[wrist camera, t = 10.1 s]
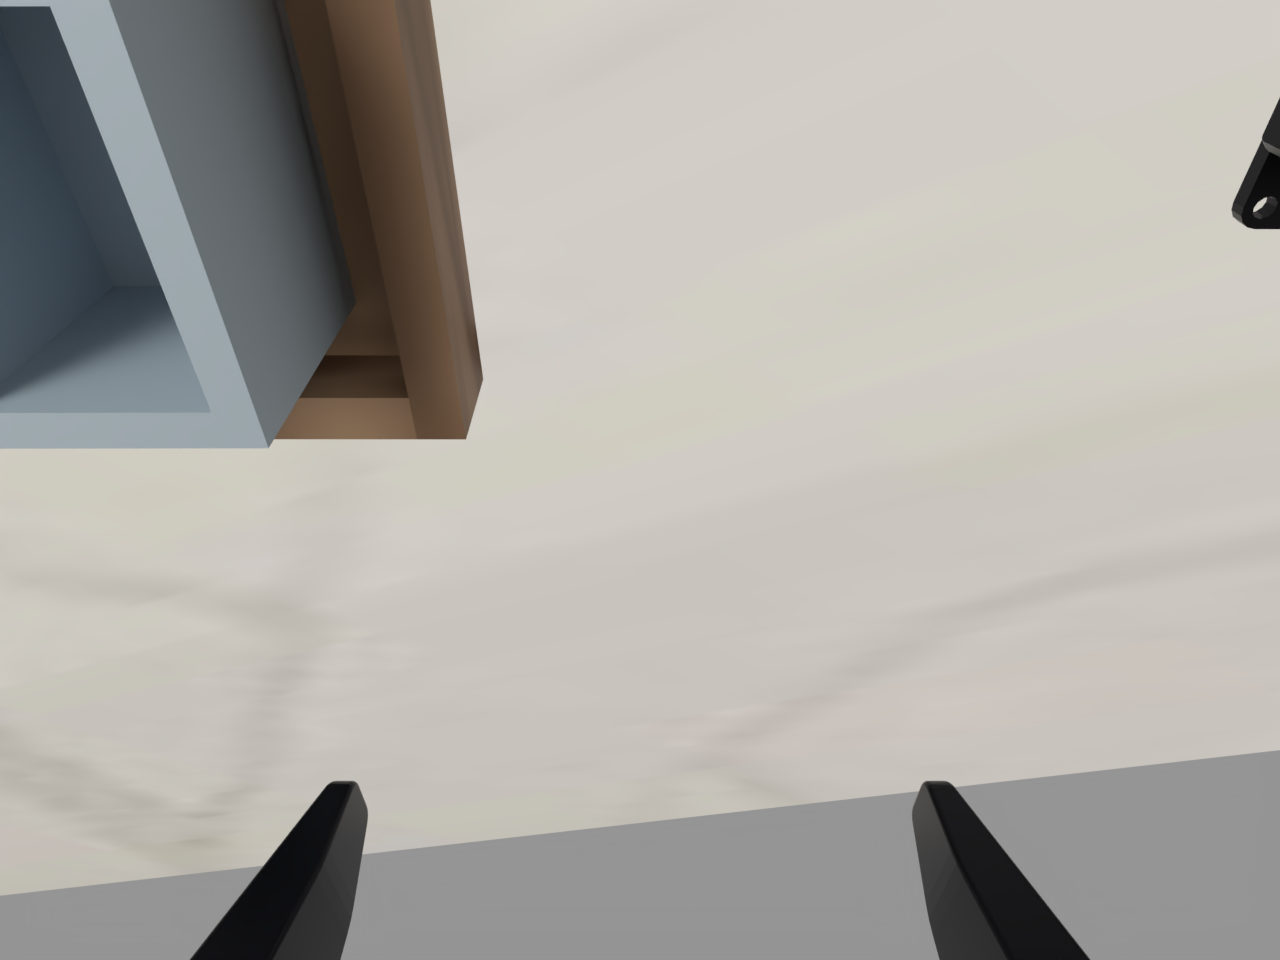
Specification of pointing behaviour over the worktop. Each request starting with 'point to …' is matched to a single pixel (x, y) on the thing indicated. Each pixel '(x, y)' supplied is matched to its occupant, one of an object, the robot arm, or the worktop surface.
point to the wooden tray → (388, 227)
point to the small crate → (159, 225)
